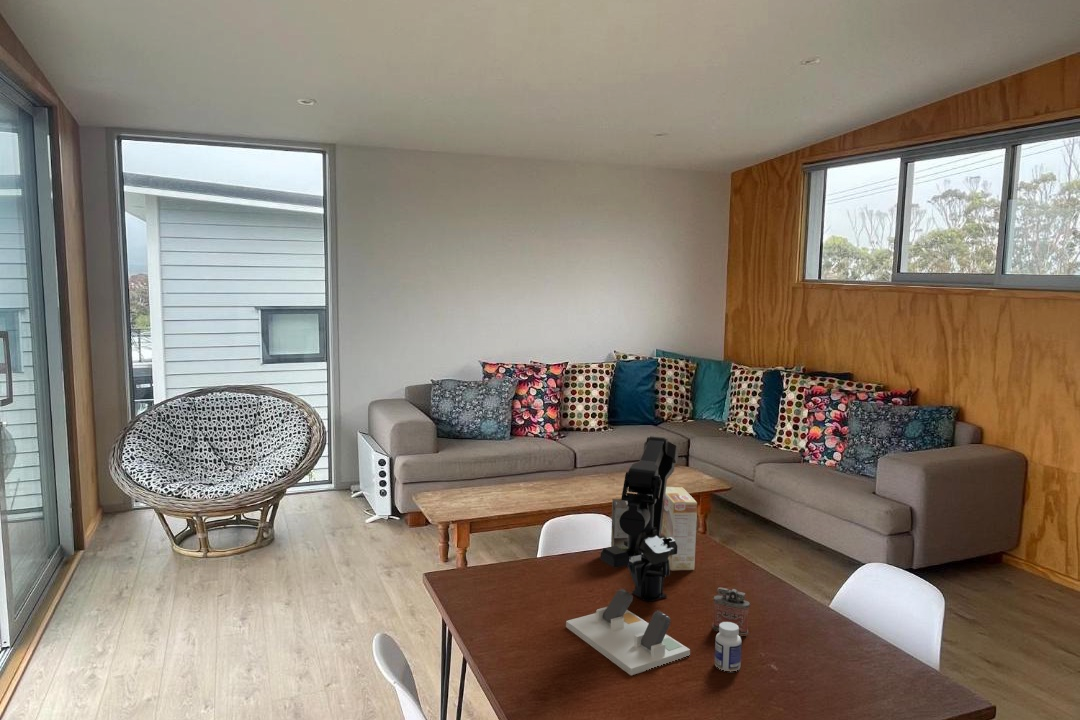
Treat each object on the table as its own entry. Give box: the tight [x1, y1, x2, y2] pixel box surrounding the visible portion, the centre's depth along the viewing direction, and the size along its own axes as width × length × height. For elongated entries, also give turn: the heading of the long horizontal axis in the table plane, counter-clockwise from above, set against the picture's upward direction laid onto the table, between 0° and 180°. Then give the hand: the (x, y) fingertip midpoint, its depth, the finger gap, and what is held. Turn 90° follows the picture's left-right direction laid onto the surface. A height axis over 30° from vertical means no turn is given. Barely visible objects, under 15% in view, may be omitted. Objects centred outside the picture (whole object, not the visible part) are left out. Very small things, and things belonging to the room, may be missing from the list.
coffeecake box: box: [661, 486, 698, 571], centre depth 215 cm, size 15×7×20 cm, turn 5°
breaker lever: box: [603, 588, 634, 624], centre depth 174 cm, size 2×4×8 cm
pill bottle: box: [714, 622, 742, 673], centre depth 158 cm, size 5×5×9 cm
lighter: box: [711, 587, 751, 635], centre depth 173 cm, size 8×3×10 cm, turn 65°
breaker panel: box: [565, 606, 691, 676], centre depth 167 cm, size 16×24×9 cm, turn 31°
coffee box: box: [610, 498, 628, 550], centre depth 216 cm, size 9×6×16 cm
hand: (638, 586), depth 176 cm, fingers closed
